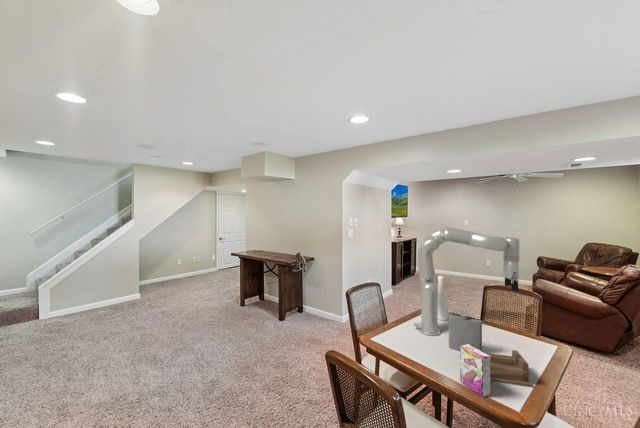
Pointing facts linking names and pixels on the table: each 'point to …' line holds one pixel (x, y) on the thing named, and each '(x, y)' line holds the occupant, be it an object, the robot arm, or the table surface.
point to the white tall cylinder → (442, 300)
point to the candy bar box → (475, 370)
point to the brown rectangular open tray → (510, 369)
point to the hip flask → (464, 332)
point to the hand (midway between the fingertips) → (511, 288)
